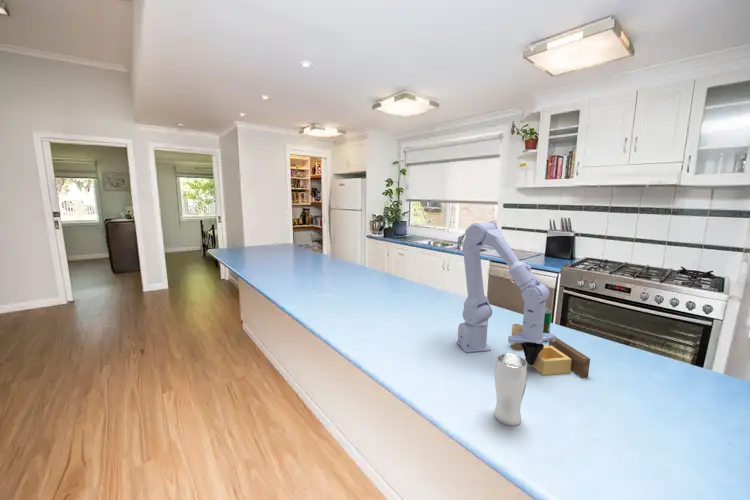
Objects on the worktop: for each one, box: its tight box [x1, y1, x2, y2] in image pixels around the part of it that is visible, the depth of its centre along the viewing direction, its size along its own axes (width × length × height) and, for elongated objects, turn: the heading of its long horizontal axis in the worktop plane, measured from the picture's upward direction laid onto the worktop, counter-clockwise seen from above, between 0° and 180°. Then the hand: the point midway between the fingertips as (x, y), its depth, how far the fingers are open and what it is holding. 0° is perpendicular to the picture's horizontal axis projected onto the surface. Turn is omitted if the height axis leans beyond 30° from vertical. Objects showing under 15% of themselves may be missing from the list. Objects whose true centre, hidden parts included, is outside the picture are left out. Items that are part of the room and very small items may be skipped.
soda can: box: [543, 306, 553, 333], centre depth 120 cm, size 5×5×12 cm
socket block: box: [524, 345, 572, 376], centre depth 101 cm, size 9×9×4 cm
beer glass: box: [493, 353, 528, 427], centre depth 77 cm, size 7×7×15 cm
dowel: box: [510, 323, 523, 351], centre depth 113 cm, size 4×4×8 cm
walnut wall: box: [548, 337, 591, 379], centre depth 102 cm, size 2×15×6 cm, turn 8°
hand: (529, 363), depth 100 cm, fingers closed
